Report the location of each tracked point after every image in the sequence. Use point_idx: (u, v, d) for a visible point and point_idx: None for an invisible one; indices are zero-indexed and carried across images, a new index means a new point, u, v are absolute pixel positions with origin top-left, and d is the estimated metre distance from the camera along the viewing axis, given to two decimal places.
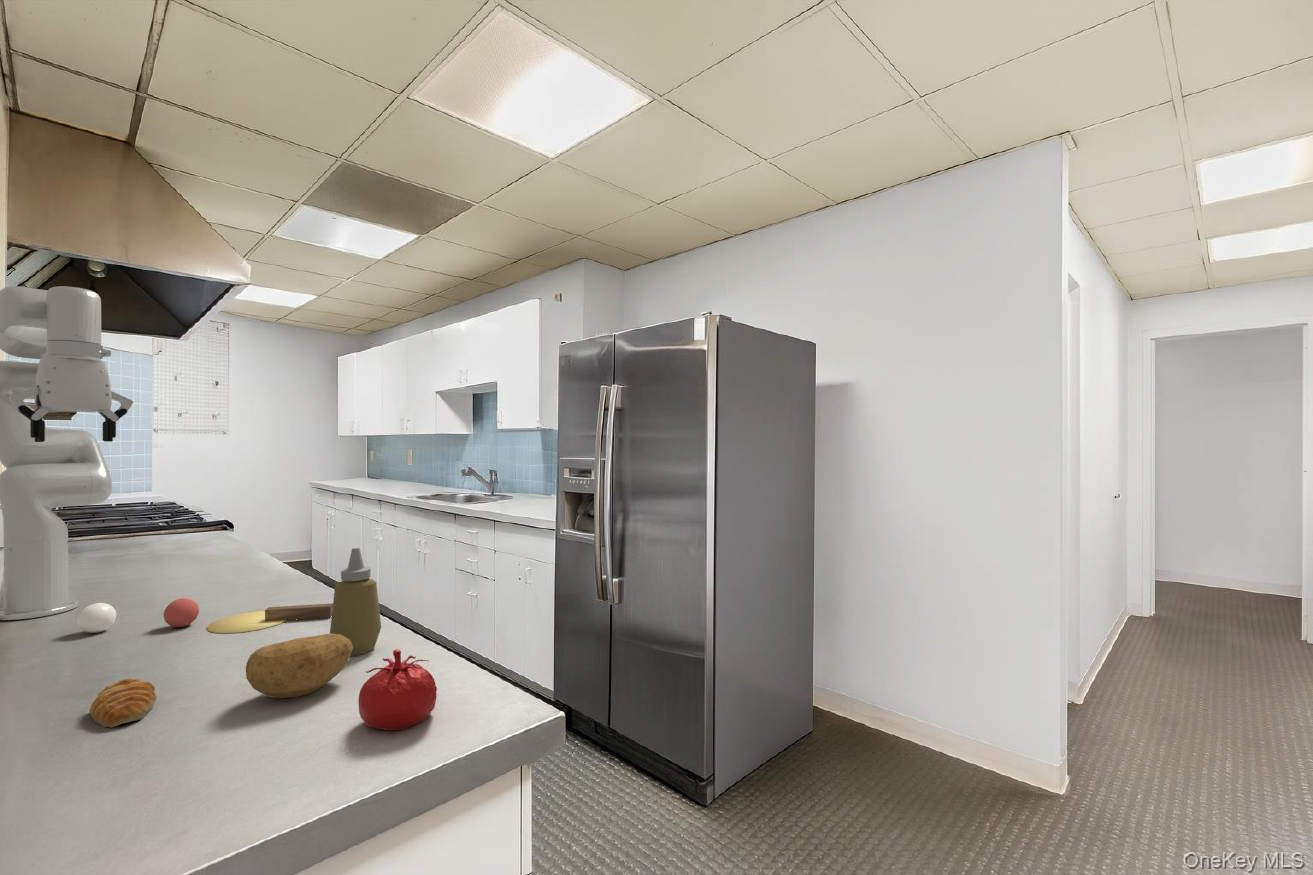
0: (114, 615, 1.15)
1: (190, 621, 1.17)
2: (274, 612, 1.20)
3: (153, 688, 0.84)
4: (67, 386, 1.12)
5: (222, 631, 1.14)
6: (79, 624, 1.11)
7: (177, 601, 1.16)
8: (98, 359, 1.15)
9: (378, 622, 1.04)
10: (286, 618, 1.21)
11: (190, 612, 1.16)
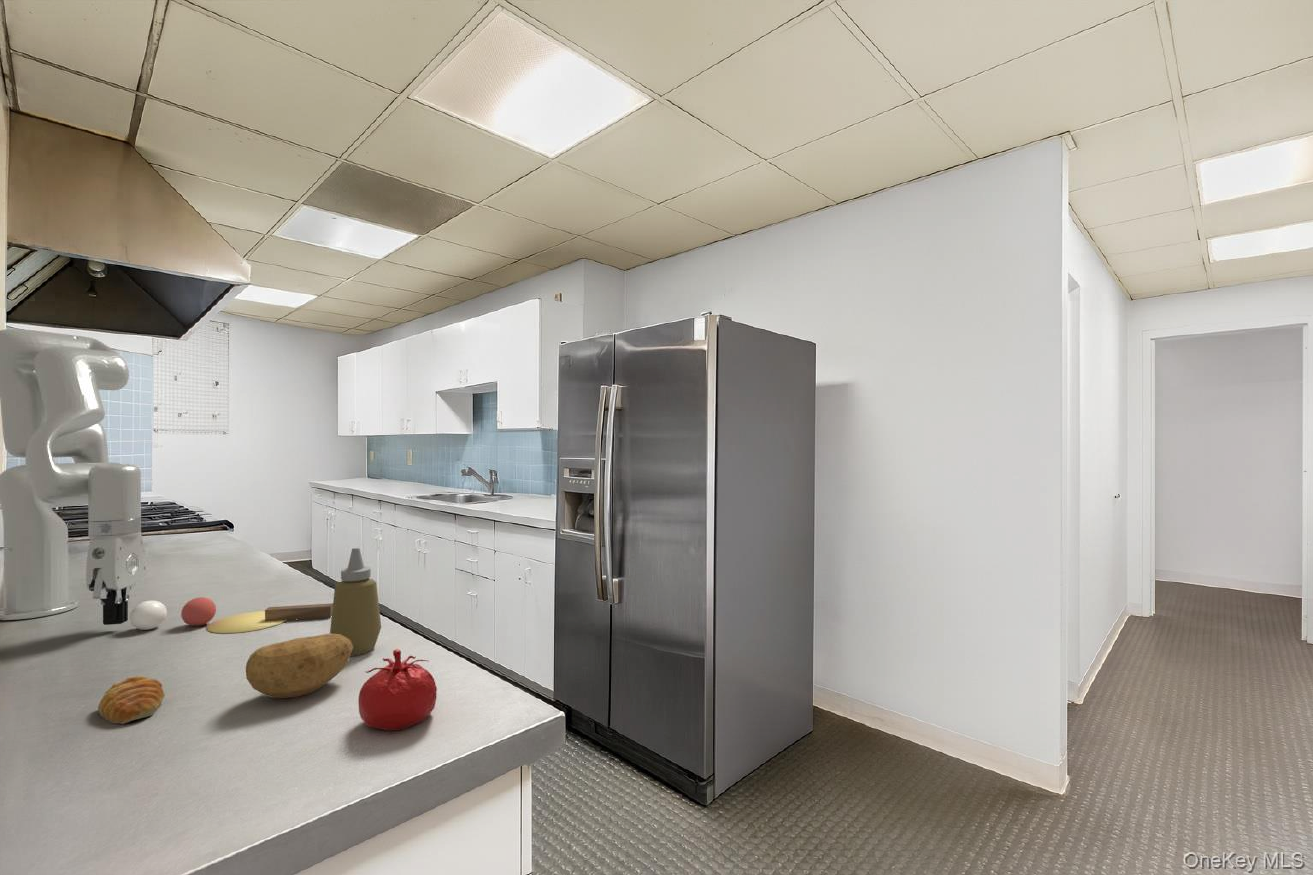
0: None
1: (193, 625, 1.17)
2: (274, 612, 1.20)
3: (160, 685, 0.85)
4: None
5: (222, 631, 1.14)
6: (148, 613, 1.14)
7: (208, 605, 1.17)
8: (89, 537, 1.11)
9: (378, 622, 1.04)
10: (286, 618, 1.21)
11: (202, 622, 1.17)
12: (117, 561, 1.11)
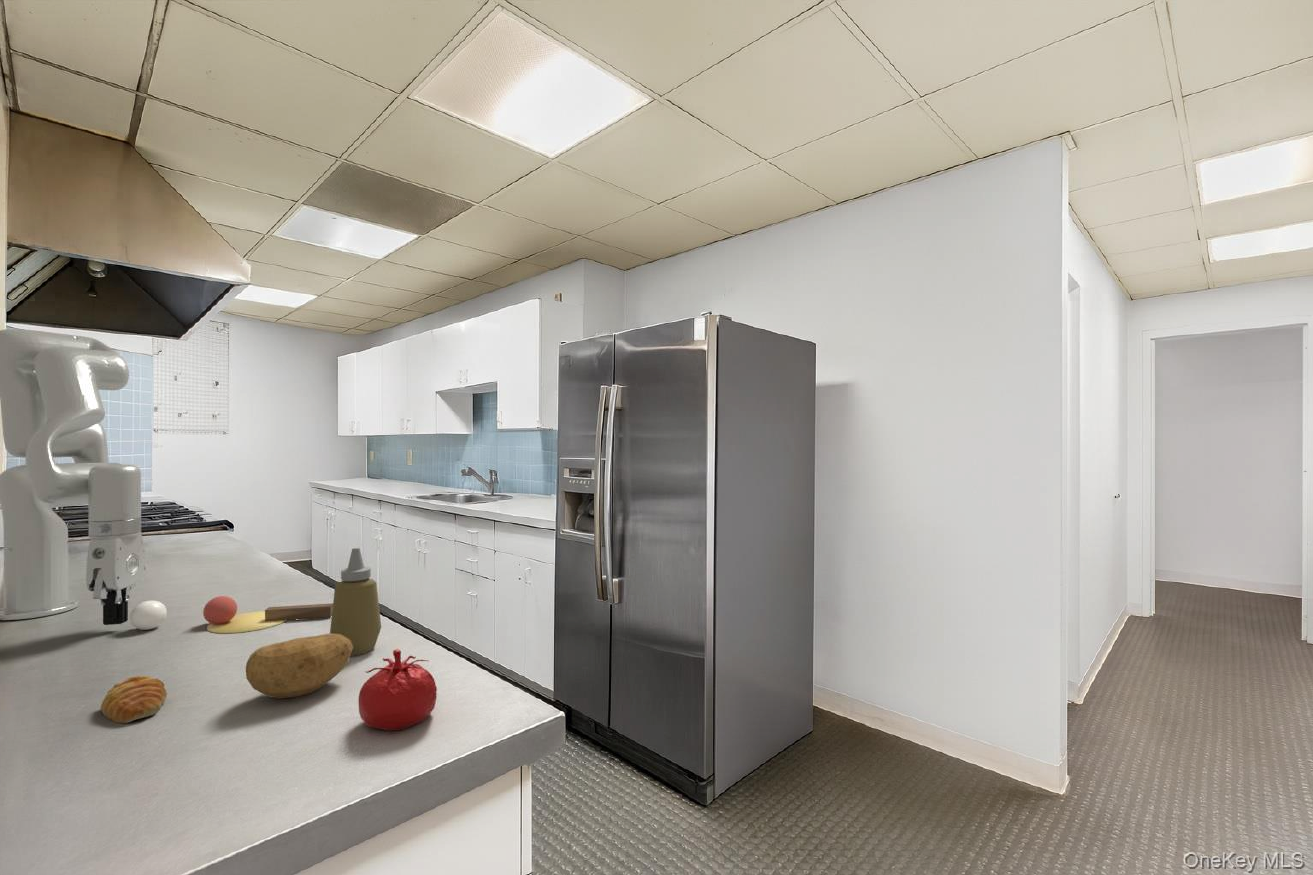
0: None
1: (203, 612, 1.17)
2: (274, 612, 1.20)
3: (163, 685, 0.85)
4: None
5: (222, 631, 1.14)
6: (148, 613, 1.14)
7: (228, 619, 1.18)
8: (90, 537, 1.11)
9: (378, 622, 1.04)
10: (286, 618, 1.21)
11: None
12: (117, 561, 1.11)
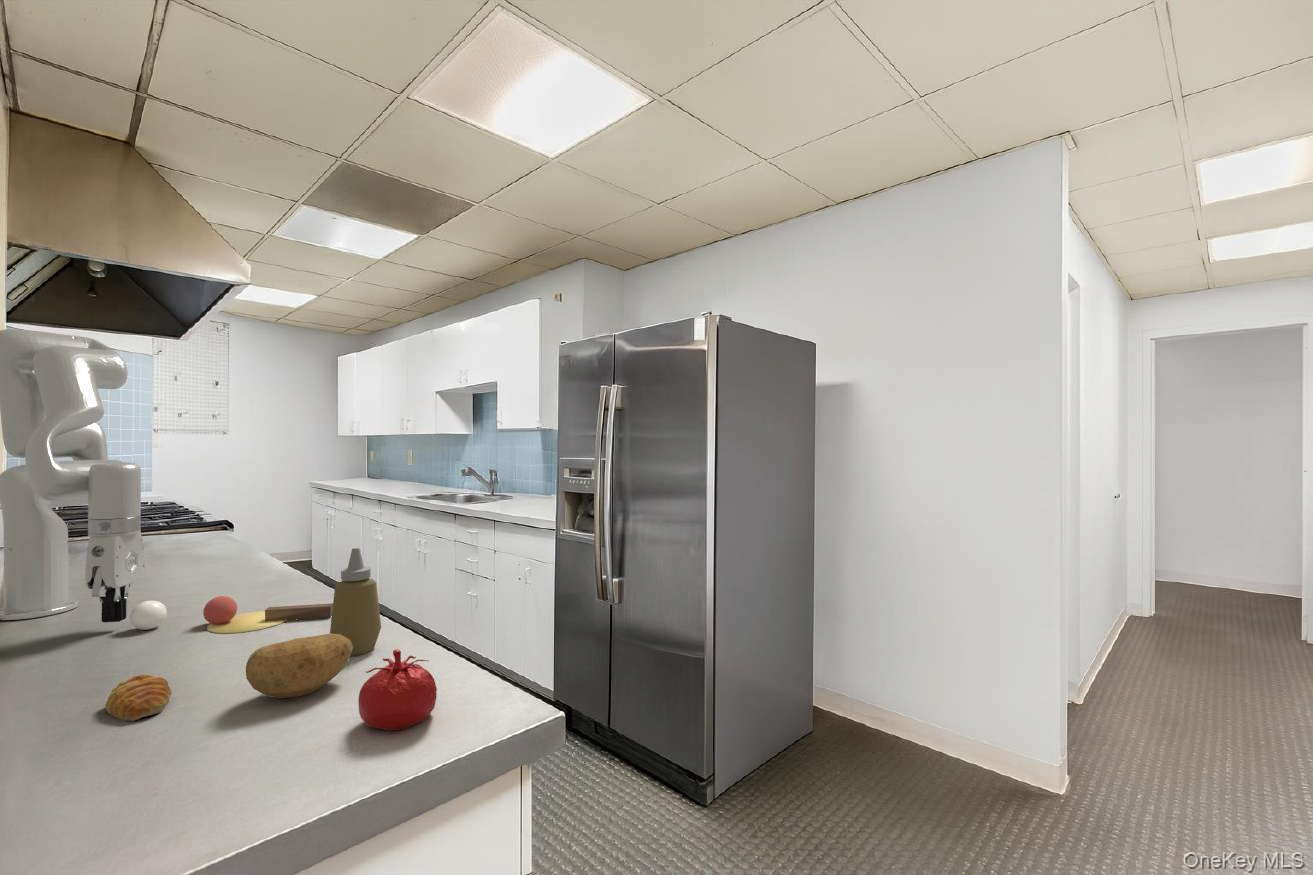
0: None
1: (203, 612, 1.17)
2: (274, 612, 1.20)
3: (167, 683, 0.85)
4: None
5: (222, 631, 1.14)
6: (148, 613, 1.14)
7: (228, 619, 1.18)
8: (89, 534, 1.11)
9: (378, 622, 1.04)
10: (286, 618, 1.21)
11: None
12: (116, 559, 1.11)
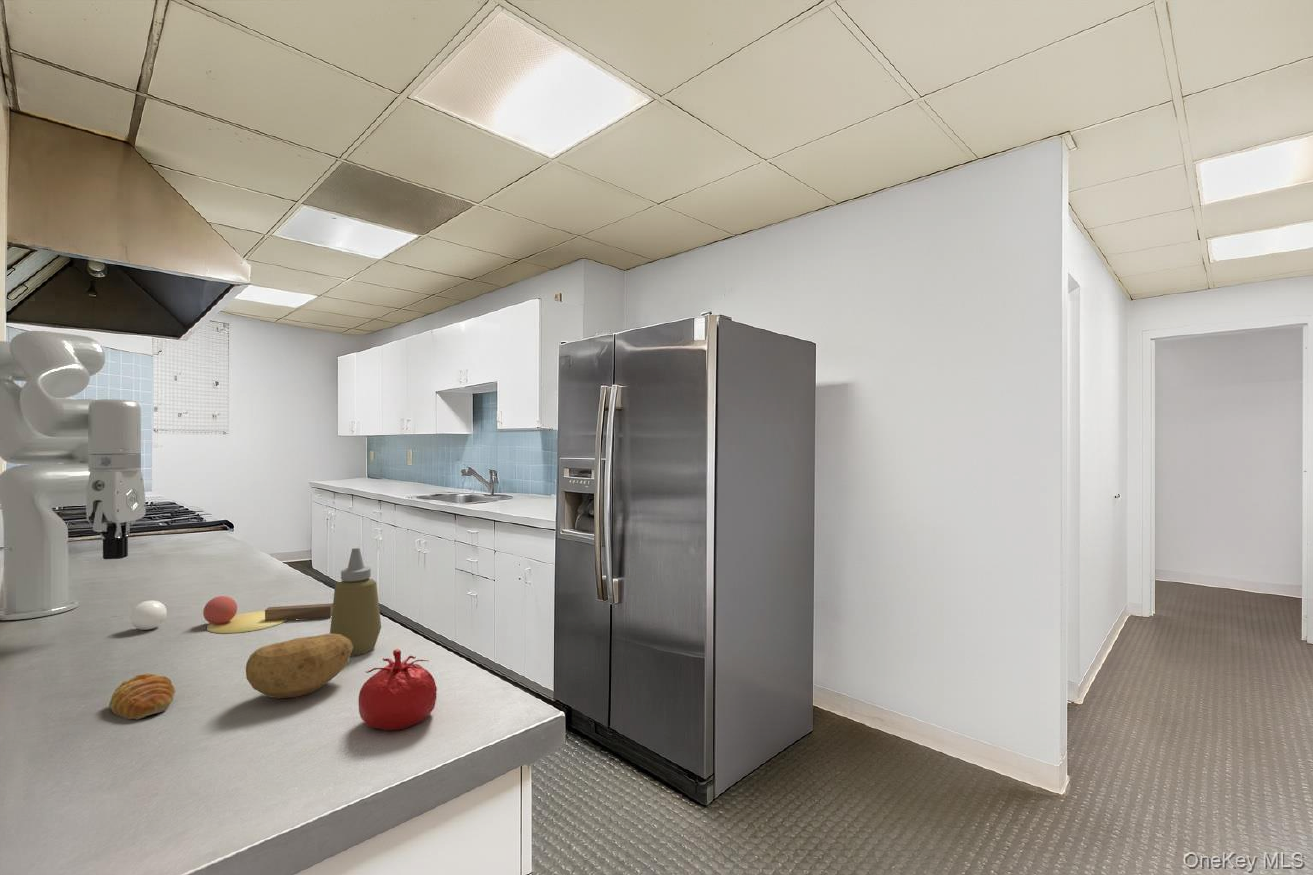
0: None
1: (203, 612, 1.17)
2: (274, 612, 1.20)
3: (170, 682, 0.86)
4: None
5: (222, 631, 1.14)
6: (148, 613, 1.14)
7: (228, 619, 1.18)
8: (89, 470, 1.11)
9: (378, 622, 1.04)
10: (286, 618, 1.21)
11: None
12: (117, 494, 1.11)
